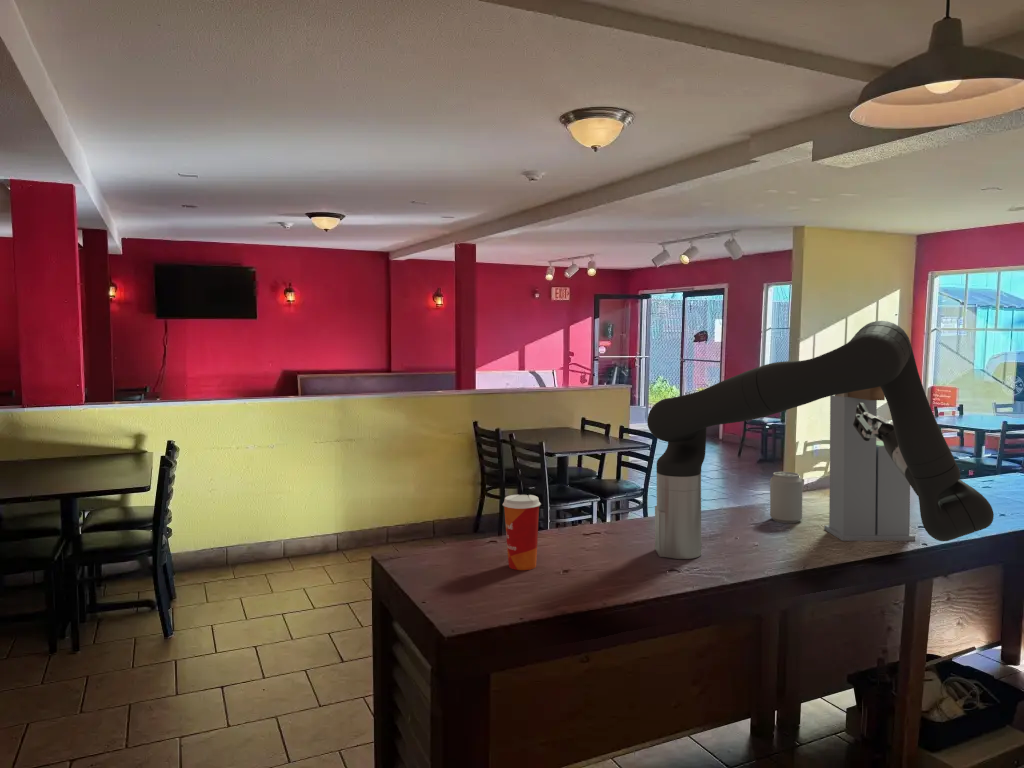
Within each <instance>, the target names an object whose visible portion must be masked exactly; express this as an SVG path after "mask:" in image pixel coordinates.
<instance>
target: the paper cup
mask: <svg viewBox="0 0 1024 768" xmlns="http://www.w3.org/2000/svg"><path fill="white" fill-rule="evenodd" d="M541 505H542V503H541V502H540V500H539V497H538V496H536V495H534V494H528V495H527V494H511V495H507V496H505V497H504V501H503V503H502V506H503V509H504V519H505V520H504V522H505V523H504V524H505V534H506V535H505V537H506V538H505V539H506V549H507V562H508V567H509V569H511V570H515V571H529V570H533V569H535V568H536V567H537V558H538V544H539V543H538V542H539V537H538V536H539V519H540V518H539V513H540V506H541Z"/></svg>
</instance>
